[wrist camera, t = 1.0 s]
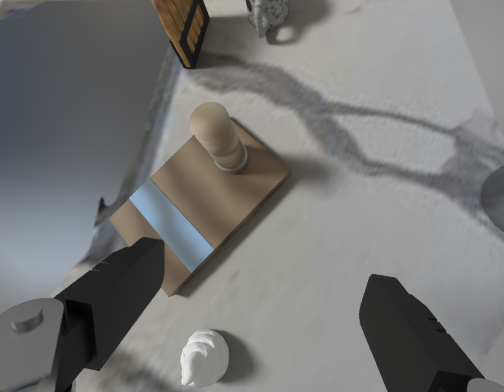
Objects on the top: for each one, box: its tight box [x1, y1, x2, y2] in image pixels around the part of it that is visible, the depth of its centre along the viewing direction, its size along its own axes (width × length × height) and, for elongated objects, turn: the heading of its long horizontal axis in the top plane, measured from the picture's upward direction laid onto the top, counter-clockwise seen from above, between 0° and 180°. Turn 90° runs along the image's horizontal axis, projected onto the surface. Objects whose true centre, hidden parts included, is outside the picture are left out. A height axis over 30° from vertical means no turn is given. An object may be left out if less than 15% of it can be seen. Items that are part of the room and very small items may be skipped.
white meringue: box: [180, 329, 229, 388], centre depth 25 cm, size 6×6×6 cm
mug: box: [246, 0, 288, 38], centre depth 35 cm, size 10×7×7 cm, turn 169°
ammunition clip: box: [152, 0, 210, 69], centre depth 34 cm, size 11×2×12 cm, turn 168°
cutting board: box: [109, 120, 291, 297], centre depth 32 cm, size 22×14×2 cm, turn 135°
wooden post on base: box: [189, 102, 248, 174], centre depth 27 cm, size 4×4×10 cm
